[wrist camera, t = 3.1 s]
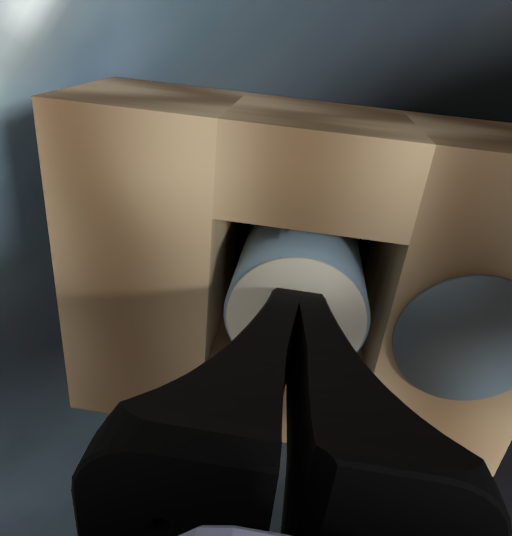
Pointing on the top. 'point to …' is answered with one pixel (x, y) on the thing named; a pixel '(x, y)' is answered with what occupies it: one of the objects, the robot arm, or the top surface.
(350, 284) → the peg
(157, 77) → the top surface
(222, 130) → the socket block
